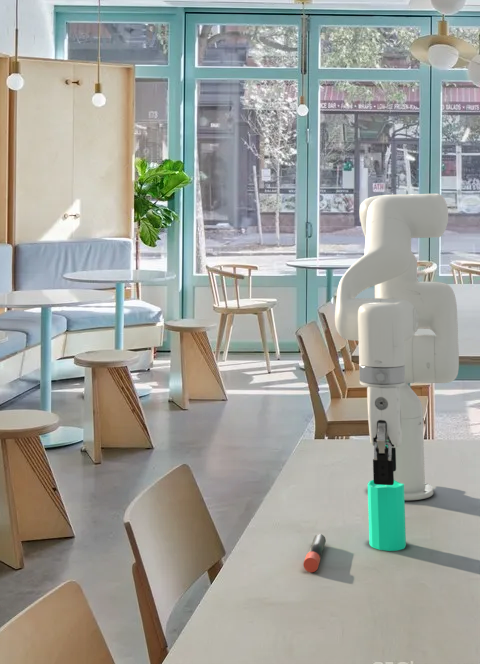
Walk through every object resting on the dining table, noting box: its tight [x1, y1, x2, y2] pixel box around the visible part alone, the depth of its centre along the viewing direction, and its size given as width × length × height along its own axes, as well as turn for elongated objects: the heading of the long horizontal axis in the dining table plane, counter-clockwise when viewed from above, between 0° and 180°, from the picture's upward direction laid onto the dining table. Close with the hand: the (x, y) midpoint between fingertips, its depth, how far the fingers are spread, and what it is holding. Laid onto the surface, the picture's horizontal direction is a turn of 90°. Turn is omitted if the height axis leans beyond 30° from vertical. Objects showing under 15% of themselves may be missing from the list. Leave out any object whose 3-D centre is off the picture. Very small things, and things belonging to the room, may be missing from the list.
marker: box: [302, 533, 327, 573], centre depth 168 cm, size 14×2×2 cm, turn 162°
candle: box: [367, 479, 407, 552], centre depth 174 cm, size 6×6×12 cm
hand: (385, 477), depth 173 cm, fingers open, 9 cm apart
